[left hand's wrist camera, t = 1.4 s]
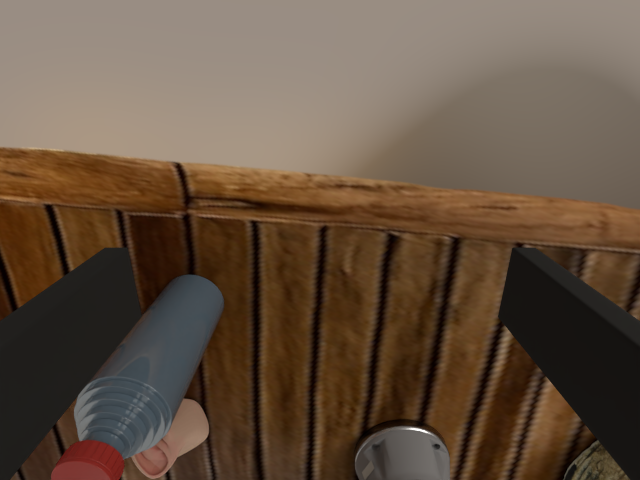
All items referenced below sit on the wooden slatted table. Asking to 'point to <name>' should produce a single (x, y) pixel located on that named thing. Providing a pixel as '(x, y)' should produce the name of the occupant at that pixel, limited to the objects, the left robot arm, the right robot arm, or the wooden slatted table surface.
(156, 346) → the bottle
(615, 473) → the fossil
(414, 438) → the left robot arm
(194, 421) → the anatomical model
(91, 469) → the cap
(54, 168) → the wooden slatted table surface
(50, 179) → the wooden slatted table surface
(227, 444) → the wooden slatted table surface
